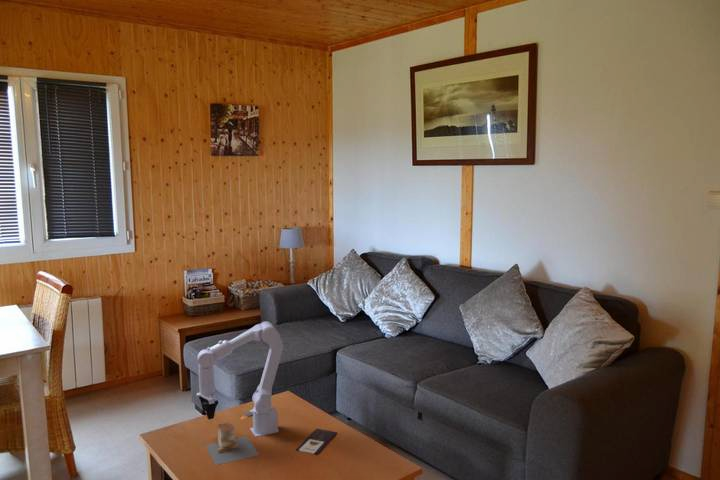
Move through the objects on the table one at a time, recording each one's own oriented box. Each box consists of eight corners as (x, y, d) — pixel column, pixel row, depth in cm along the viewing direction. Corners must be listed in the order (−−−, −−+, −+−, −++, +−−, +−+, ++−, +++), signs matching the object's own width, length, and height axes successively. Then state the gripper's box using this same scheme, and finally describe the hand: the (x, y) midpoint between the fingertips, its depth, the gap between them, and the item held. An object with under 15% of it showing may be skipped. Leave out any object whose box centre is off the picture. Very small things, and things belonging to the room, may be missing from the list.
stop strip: (239, 446, 215) (238, 443, 215) (239, 448, 215) (239, 445, 214) (217, 451, 212) (217, 448, 212) (218, 453, 211) (218, 449, 211)
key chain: (252, 411, 249) (252, 407, 248) (259, 412, 247) (259, 409, 247) (232, 423, 237) (232, 419, 237) (239, 425, 235) (239, 421, 235)
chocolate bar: (337, 432, 227) (317, 453, 210) (337, 434, 227) (317, 456, 210) (316, 428, 230) (295, 449, 213) (316, 430, 230) (295, 451, 214)
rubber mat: (246, 437, 224) (246, 436, 224) (259, 455, 210) (259, 454, 210) (205, 446, 216) (205, 445, 216) (215, 466, 202) (215, 465, 202)
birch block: (231, 441, 219) (230, 422, 218) (234, 447, 215) (234, 427, 214) (218, 444, 217) (217, 424, 216) (221, 450, 213) (220, 430, 212)
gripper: (192, 376, 223) (193, 409, 225) (200, 389, 211) (202, 424, 213) (210, 373, 227) (211, 406, 228) (219, 386, 214) (221, 420, 216)
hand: (208, 414), depth 221 cm, fingers open, 7 cm apart
